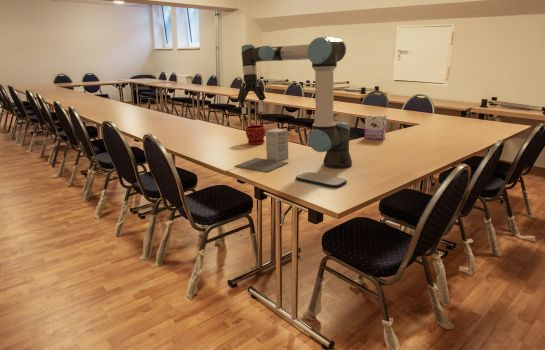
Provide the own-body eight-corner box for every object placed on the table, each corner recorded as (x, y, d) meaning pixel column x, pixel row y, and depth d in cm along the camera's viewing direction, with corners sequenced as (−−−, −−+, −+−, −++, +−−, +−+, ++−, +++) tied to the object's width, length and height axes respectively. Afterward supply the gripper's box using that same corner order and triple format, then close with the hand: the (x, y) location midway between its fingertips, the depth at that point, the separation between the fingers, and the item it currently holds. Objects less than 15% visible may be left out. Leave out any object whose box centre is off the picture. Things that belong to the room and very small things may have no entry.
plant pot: (252, 141, 272) (251, 124, 269) (268, 142, 266) (268, 125, 263) (242, 144, 261) (241, 127, 258) (259, 146, 255) (258, 128, 252)
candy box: (385, 138, 268) (387, 115, 264) (383, 140, 264) (384, 116, 259) (366, 137, 275) (367, 114, 271) (363, 138, 271) (364, 115, 266)
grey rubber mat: (288, 163, 211) (288, 162, 211) (268, 172, 196) (268, 171, 195) (256, 158, 223) (256, 157, 223) (234, 166, 207) (234, 165, 207)
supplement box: (288, 158, 222) (288, 129, 217) (278, 161, 216) (277, 132, 211) (276, 155, 228) (276, 128, 224) (266, 159, 222) (265, 130, 217)
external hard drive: (293, 180, 183) (293, 176, 182) (306, 175, 191) (306, 171, 191) (336, 190, 168) (336, 185, 168) (349, 183, 177) (349, 179, 176)
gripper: (260, 74, 224) (263, 111, 228) (228, 74, 206) (232, 114, 210) (270, 73, 219) (272, 110, 223) (238, 73, 201) (241, 114, 205)
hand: (252, 112), depth 217 cm, fingers open, 13 cm apart
